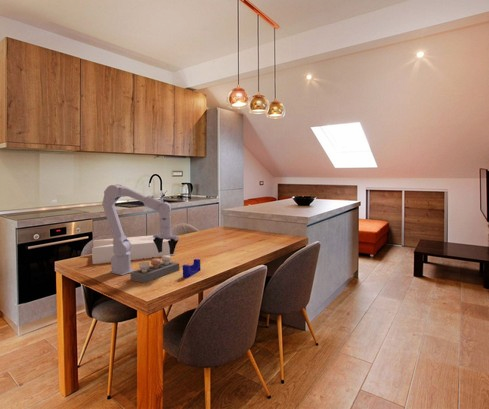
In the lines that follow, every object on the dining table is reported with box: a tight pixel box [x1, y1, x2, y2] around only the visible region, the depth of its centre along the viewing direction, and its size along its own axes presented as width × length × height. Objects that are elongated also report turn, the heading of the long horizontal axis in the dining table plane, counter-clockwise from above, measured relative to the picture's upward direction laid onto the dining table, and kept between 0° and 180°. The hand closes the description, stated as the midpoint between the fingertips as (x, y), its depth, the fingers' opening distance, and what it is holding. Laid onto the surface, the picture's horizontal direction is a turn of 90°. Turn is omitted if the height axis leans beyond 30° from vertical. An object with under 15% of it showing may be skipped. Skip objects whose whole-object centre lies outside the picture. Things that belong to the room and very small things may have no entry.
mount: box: [129, 260, 180, 284], centre depth 155 cm, size 9×23×4 cm, turn 148°
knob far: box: [161, 255, 172, 266], centre depth 160 cm, size 4×4×5 cm
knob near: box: [138, 261, 150, 274], centre depth 149 cm, size 4×4×5 cm
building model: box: [91, 234, 176, 265], centre depth 192 cm, size 45×22×10 cm, turn 114°
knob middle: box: [150, 257, 161, 270], centre depth 155 cm, size 4×4×5 cm
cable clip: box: [182, 258, 202, 279], centre depth 156 cm, size 12×4×6 cm, turn 159°
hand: (166, 253), depth 160 cm, fingers open, 7 cm apart
